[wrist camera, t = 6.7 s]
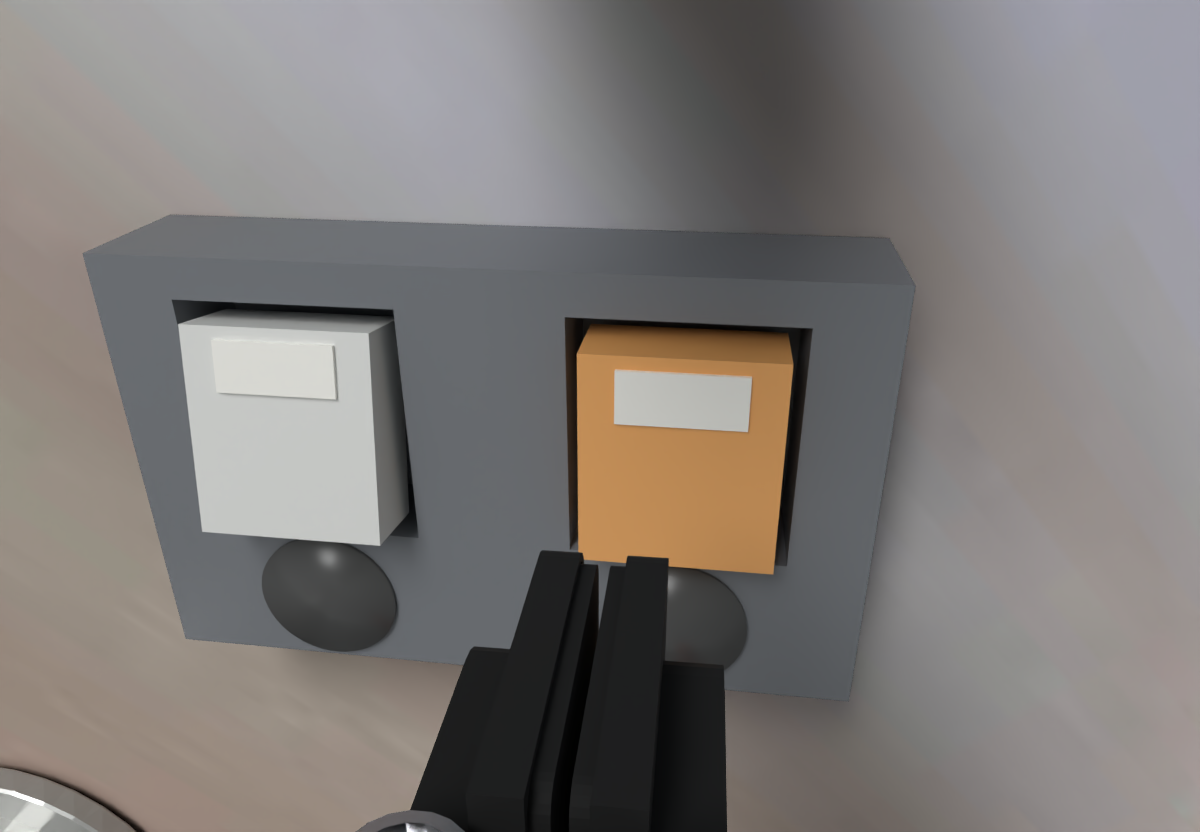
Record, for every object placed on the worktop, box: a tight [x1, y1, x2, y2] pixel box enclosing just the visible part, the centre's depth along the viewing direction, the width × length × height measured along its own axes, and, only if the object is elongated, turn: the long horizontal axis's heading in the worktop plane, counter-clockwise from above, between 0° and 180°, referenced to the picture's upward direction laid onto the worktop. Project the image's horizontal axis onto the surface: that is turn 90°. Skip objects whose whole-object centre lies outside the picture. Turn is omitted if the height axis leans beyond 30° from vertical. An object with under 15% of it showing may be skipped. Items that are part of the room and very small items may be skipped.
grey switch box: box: [83, 215, 915, 701], centre depth 23 cm, size 11×18×4 cm, turn 90°
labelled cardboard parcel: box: [577, 324, 793, 574], centre depth 20 cm, size 5×4×2 cm
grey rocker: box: [178, 309, 409, 546], centre depth 21 cm, size 5×4×2 cm
